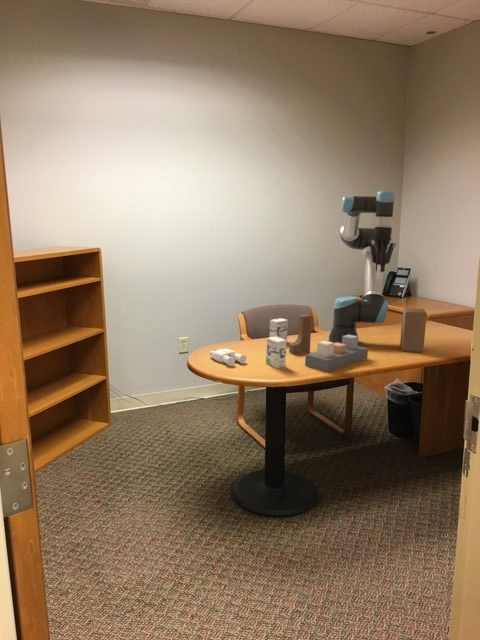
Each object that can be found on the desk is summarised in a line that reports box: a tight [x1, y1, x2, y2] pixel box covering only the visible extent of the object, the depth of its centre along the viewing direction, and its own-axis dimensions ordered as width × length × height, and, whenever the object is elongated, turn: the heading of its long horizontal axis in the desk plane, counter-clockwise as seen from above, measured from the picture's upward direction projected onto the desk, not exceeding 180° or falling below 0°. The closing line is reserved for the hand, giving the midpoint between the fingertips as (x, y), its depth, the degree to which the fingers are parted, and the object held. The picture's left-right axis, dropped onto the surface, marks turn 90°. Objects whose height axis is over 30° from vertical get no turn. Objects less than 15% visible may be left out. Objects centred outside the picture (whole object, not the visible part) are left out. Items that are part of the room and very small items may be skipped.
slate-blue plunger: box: [342, 335, 359, 350], centre depth 232 cm, size 5×5×7 cm
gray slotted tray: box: [304, 345, 369, 373], centre depth 227 cm, size 12×30×5 cm, turn 133°
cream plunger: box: [316, 340, 334, 358], centre depth 220 cm, size 5×5×7 cm
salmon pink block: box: [334, 342, 346, 354], centre depth 227 cm, size 5×5×7 cm
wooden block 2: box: [399, 307, 428, 353], centre depth 249 cm, size 10×10×20 cm
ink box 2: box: [265, 336, 287, 369], centre depth 221 cm, size 9×5×12 cm, turn 32°
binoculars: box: [209, 348, 247, 367], centre depth 227 cm, size 10×16×5 cm, turn 36°
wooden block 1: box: [288, 314, 312, 356], centre depth 240 cm, size 9×4×18 cm, turn 112°
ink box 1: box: [269, 317, 289, 343], centre depth 260 cm, size 9×5×12 cm, turn 131°
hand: (379, 278), depth 234 cm, fingers closed
